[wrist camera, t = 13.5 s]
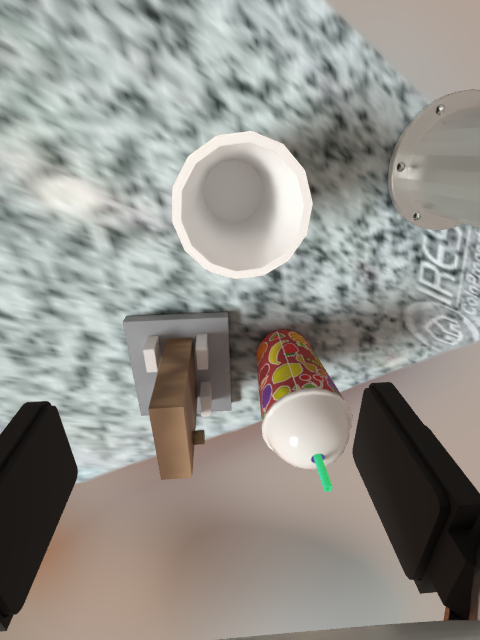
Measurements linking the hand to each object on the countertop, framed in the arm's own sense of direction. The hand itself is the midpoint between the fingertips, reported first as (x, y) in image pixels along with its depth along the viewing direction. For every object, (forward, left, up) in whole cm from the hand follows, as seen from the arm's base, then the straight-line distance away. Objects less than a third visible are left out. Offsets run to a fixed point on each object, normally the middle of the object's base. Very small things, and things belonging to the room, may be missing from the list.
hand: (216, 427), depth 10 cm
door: (+5, +17, -27) cm, 32 cm away
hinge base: (+5, +17, -28) cm, 33 cm away
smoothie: (-8, +15, -28) cm, 33 cm away
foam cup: (-2, -4, -28) cm, 29 cm away
